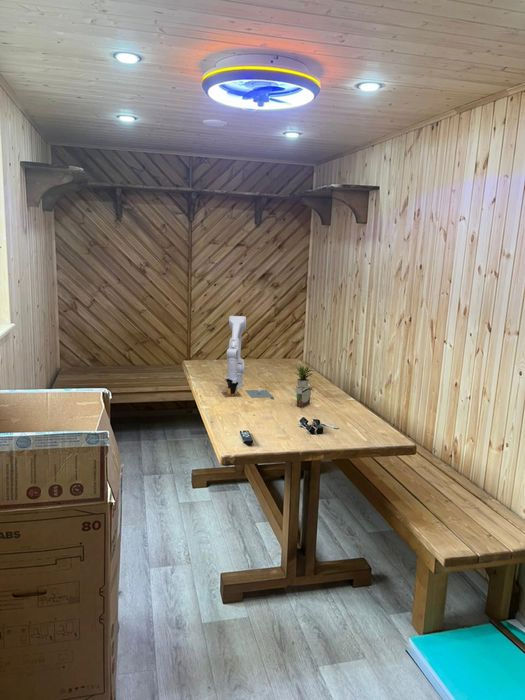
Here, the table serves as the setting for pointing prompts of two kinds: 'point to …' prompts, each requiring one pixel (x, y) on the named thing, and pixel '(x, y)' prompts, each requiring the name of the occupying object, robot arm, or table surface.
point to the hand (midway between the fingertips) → (231, 392)
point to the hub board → (263, 394)
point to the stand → (231, 396)
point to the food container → (303, 396)
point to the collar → (230, 392)
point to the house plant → (303, 375)
